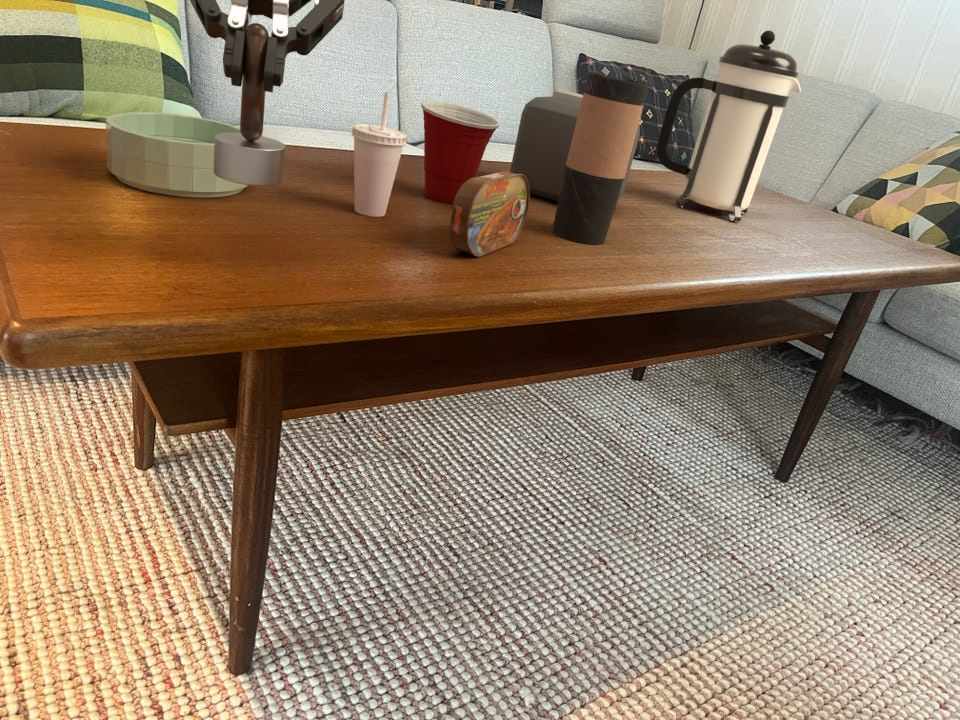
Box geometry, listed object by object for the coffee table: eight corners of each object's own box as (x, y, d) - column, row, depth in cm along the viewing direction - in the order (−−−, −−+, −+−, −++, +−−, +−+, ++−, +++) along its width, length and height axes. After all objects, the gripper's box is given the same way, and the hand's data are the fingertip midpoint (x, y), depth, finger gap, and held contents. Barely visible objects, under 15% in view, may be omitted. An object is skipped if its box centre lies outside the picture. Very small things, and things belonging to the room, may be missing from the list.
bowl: (82, 181, 78) (79, 124, 75) (141, 155, 91) (140, 106, 89) (228, 208, 79) (230, 152, 76) (264, 178, 93) (267, 130, 90)
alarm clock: (619, 208, 118) (646, 108, 111) (597, 218, 108) (625, 110, 102) (529, 181, 123) (550, 85, 117) (500, 188, 114) (521, 84, 107)
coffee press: (720, 202, 140) (776, 35, 128) (769, 227, 127) (837, 43, 114) (641, 191, 135) (691, 15, 122) (684, 216, 121) (745, 21, 109)
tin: (463, 263, 77) (478, 184, 74) (438, 254, 78) (451, 176, 75) (523, 240, 90) (539, 172, 86) (501, 233, 91) (515, 165, 87)
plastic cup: (452, 213, 95) (468, 119, 90) (391, 190, 100) (404, 99, 95) (499, 206, 103) (517, 119, 98) (441, 185, 108) (455, 101, 103)
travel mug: (581, 247, 92) (625, 81, 84) (538, 227, 97) (575, 68, 88) (618, 243, 97) (662, 86, 89) (575, 225, 102) (613, 74, 93)
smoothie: (358, 220, 84) (373, 94, 78) (334, 203, 88) (346, 83, 82) (406, 220, 88) (423, 99, 82) (380, 204, 92) (395, 88, 86)
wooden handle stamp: (204, 177, 59) (209, 15, 54) (225, 163, 64) (231, 15, 59) (274, 190, 59) (285, 31, 54) (289, 176, 64) (301, 30, 59)
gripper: (183, -150, 57) (149, 29, 51) (360, -106, 60) (346, 67, 55) (192, -69, 64) (163, 97, 58) (351, -33, 67) (338, 126, 62)
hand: (252, 81), depth 56 cm, fingers closed on wooden handle stamp
